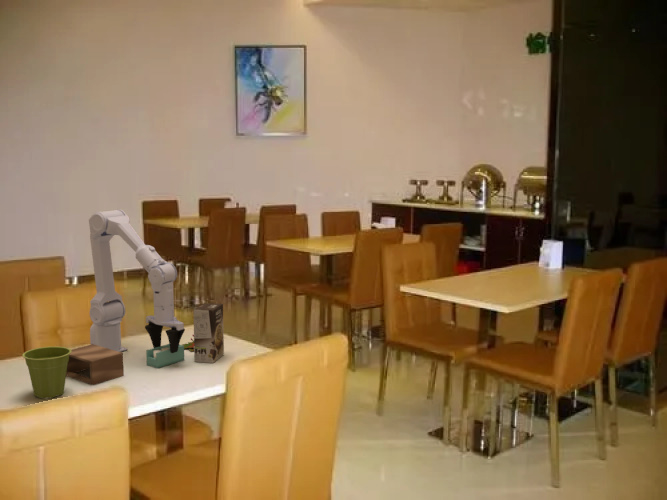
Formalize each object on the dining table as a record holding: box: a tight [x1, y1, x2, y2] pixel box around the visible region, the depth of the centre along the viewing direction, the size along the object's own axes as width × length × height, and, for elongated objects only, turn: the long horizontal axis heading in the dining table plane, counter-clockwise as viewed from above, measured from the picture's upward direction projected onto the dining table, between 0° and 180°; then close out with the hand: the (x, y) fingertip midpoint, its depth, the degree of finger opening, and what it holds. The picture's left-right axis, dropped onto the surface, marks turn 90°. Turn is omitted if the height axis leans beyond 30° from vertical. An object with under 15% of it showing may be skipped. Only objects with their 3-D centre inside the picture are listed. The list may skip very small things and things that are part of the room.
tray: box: [145, 343, 185, 369], centre depth 219 cm, size 5×10×4 cm, turn 143°
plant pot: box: [22, 346, 72, 399], centre depth 191 cm, size 12×12×11 cm
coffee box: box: [193, 302, 225, 364], centre depth 222 cm, size 9×6×16 cm
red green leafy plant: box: [181, 333, 194, 353], centre depth 235 cm, size 12×12×5 cm
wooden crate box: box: [66, 343, 125, 386], centre depth 207 cm, size 14×10×7 cm
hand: (165, 349), depth 218 cm, fingers open, 7 cm apart
